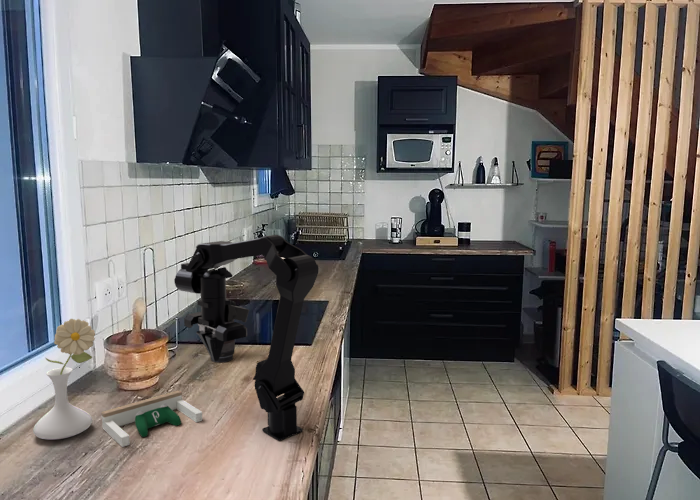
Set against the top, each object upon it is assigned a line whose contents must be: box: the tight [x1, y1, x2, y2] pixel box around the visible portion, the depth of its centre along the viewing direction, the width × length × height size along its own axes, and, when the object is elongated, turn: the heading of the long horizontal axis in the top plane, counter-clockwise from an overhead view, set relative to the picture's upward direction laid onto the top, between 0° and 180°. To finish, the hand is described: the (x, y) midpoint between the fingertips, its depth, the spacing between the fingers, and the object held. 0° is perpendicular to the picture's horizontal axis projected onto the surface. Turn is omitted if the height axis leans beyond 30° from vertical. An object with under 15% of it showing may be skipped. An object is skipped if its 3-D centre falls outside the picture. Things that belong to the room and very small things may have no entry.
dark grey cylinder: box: [208, 319, 236, 363], centre depth 164 cm, size 8×8×15 cm
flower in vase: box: [32, 318, 96, 440], centre depth 116 cm, size 13×11×25 cm
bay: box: [101, 389, 203, 448], centre depth 121 cm, size 12×18×4 cm, turn 133°
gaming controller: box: [134, 403, 182, 438], centre depth 120 cm, size 9×4×6 cm
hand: (215, 361), depth 127 cm, fingers closed
